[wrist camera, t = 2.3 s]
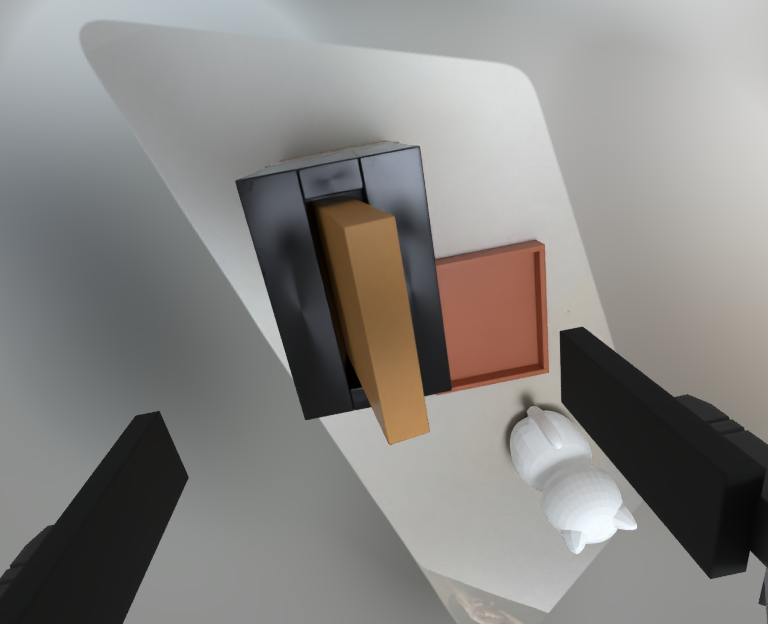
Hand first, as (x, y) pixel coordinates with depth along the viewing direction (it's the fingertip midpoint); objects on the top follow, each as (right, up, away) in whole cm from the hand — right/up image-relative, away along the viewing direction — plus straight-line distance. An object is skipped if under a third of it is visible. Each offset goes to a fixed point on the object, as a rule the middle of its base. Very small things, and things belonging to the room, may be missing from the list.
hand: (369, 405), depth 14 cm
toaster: (-3, +12, +30) cm, 32 cm away
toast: (-2, +5, +13) cm, 14 cm away
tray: (+11, +2, +35) cm, 37 cm away
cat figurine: (+20, -12, +41) cm, 47 cm away
